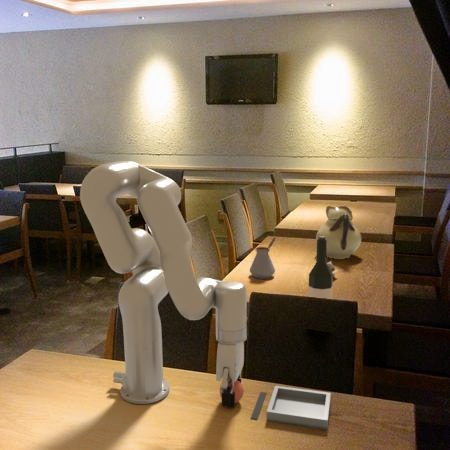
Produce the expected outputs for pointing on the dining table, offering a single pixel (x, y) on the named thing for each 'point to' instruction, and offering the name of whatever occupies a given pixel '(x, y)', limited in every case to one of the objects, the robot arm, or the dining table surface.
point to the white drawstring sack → (340, 233)
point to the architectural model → (332, 268)
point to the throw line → (258, 405)
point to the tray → (299, 407)
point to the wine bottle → (321, 273)
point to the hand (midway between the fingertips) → (231, 398)
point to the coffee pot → (262, 263)
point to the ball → (236, 390)
